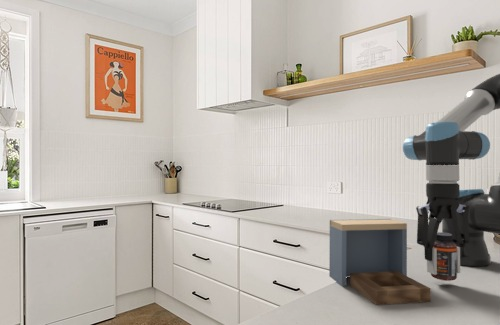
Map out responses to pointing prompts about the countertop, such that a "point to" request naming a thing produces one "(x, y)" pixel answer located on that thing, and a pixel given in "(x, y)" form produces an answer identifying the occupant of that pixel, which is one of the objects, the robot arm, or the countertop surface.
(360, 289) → the socket
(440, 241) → the supplement bottle
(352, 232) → the blue open cabinet
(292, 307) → the countertop surface
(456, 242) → the robot arm
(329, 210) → the countertop surface
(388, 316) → the countertop surface
